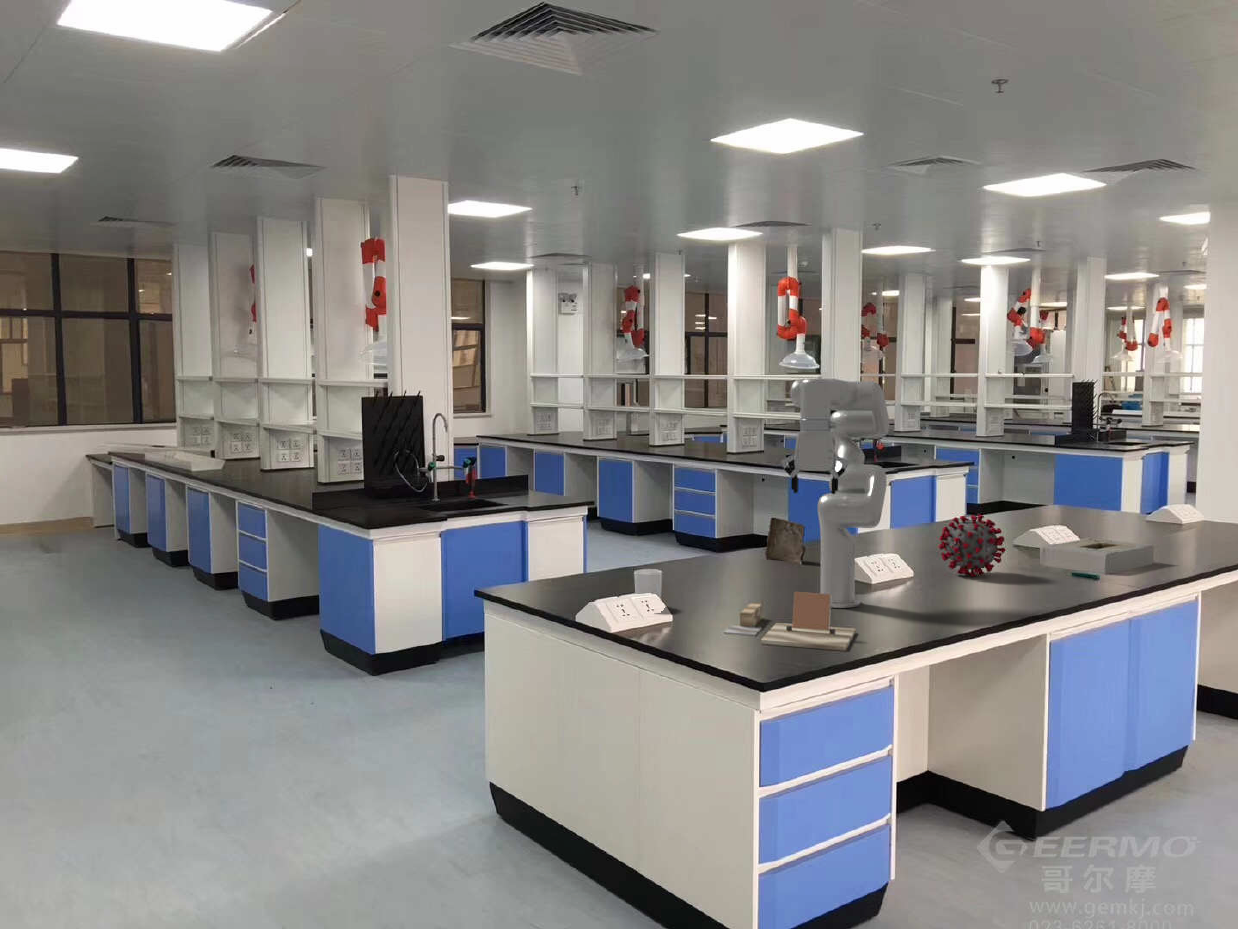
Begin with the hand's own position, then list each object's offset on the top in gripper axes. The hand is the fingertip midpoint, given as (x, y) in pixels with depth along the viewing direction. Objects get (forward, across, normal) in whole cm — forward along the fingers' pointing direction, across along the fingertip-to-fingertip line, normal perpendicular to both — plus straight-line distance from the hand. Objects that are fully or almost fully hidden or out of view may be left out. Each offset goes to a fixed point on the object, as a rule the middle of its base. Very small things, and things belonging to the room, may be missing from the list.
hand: (814, 493), depth 248 cm
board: (+34, -1, +15) cm, 38 cm away
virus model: (+33, -40, -81) cm, 96 cm away
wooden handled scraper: (+34, +16, +7) cm, 38 cm away
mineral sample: (+33, +22, -91) cm, 99 cm away
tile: (+29, -1, +11) cm, 31 cm away
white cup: (+34, +47, -7) cm, 59 cm away
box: (+32, -81, -114) cm, 143 cm away
